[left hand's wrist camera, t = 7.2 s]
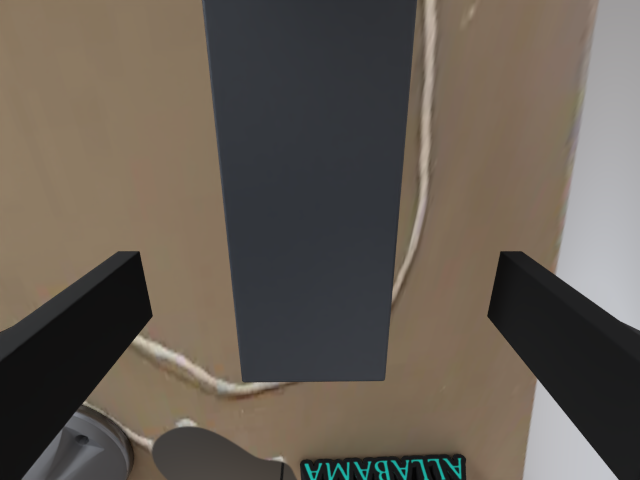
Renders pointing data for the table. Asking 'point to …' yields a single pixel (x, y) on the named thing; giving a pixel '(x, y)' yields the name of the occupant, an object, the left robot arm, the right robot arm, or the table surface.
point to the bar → (311, 177)
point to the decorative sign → (387, 468)
